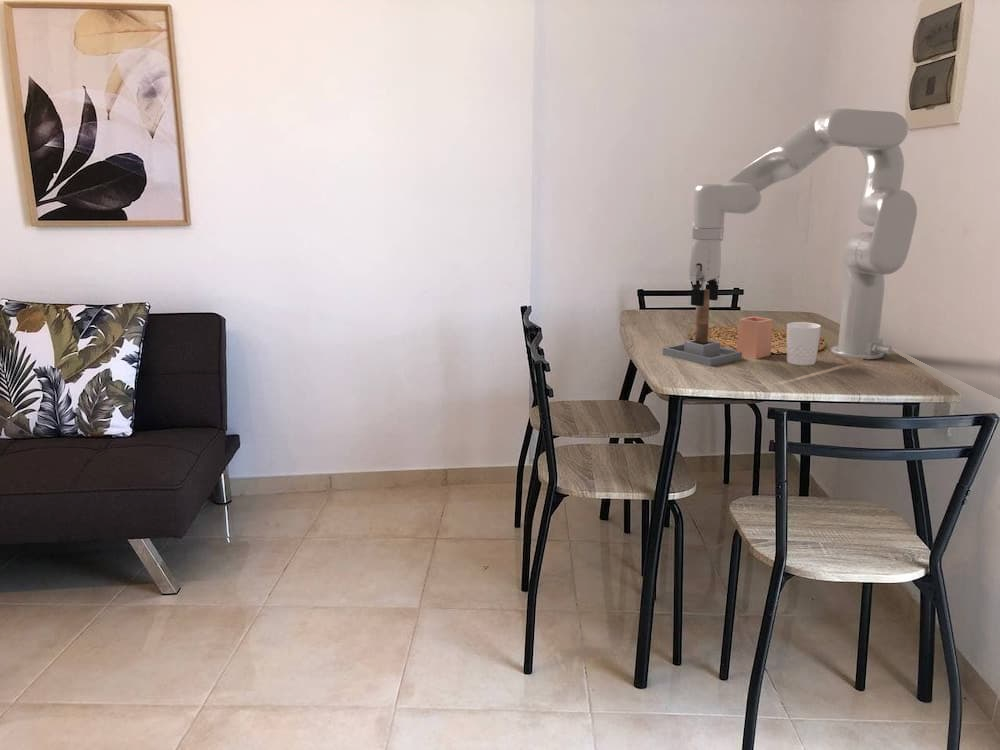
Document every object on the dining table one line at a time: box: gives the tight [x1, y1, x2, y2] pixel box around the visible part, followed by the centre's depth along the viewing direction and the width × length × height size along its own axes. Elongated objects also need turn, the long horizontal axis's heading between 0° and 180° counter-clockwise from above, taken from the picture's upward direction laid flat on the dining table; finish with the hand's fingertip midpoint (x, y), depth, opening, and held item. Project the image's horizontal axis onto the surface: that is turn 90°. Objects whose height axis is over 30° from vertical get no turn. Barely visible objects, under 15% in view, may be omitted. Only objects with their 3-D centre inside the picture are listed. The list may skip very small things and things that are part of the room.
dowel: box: [694, 288, 710, 345], centre depth 202 cm, size 3×3×17 cm
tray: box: [662, 339, 743, 367], centre depth 203 cm, size 16×12×4 cm
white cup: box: [785, 321, 822, 366], centre depth 196 cm, size 8×8×10 cm
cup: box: [736, 316, 774, 359], centre depth 204 cm, size 6×6×10 cm
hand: (704, 302), depth 200 cm, fingers open, 9 cm apart
